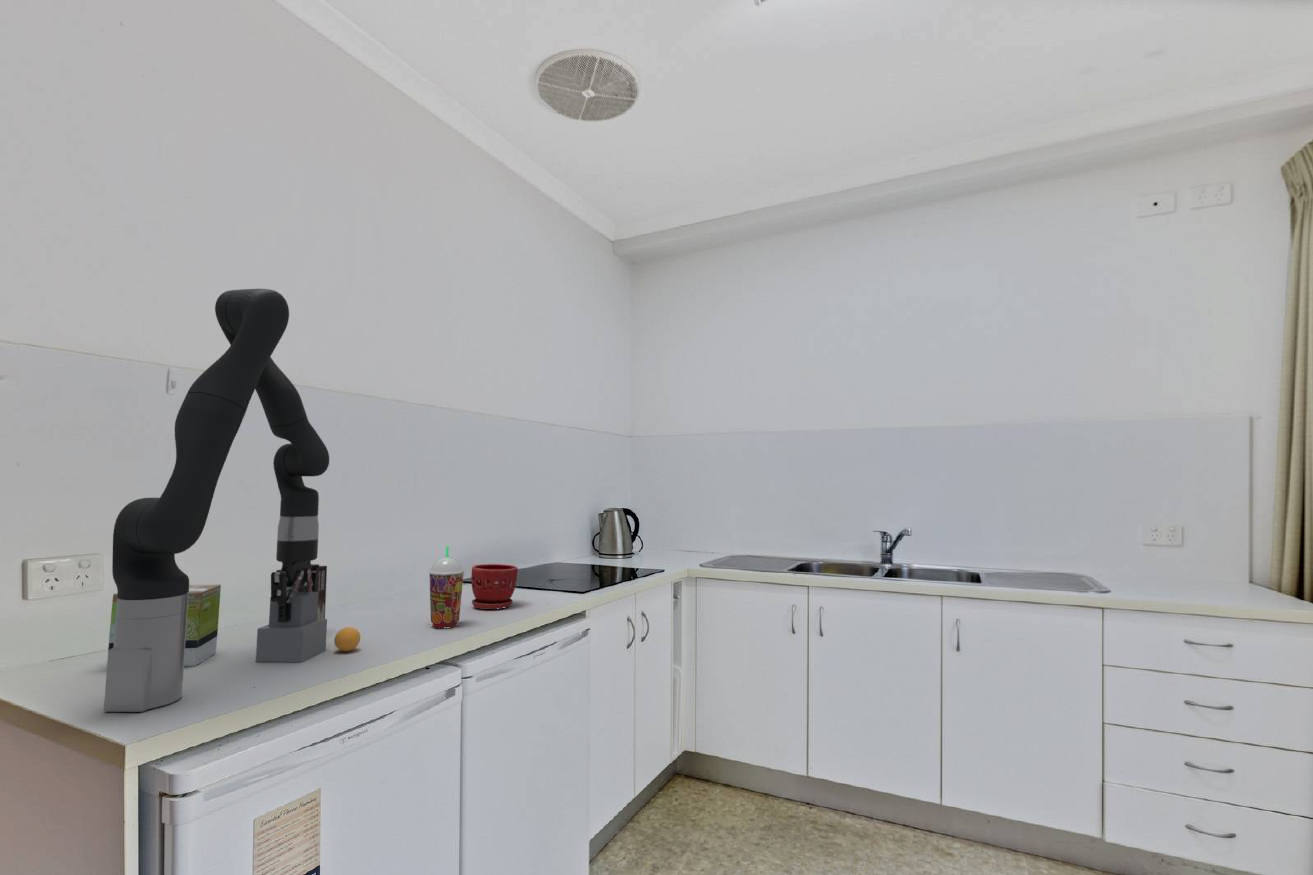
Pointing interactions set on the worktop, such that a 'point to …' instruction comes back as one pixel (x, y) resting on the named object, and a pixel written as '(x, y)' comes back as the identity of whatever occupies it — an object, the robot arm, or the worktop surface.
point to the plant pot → (493, 585)
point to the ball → (347, 639)
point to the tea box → (193, 623)
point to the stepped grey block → (293, 632)
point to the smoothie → (445, 591)
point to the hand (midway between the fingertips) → (294, 618)
